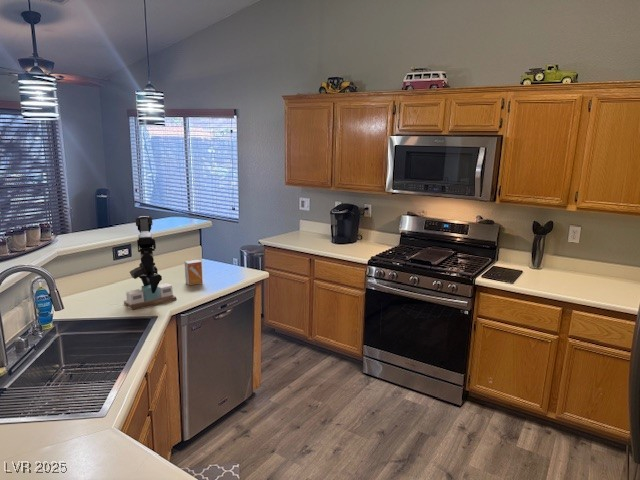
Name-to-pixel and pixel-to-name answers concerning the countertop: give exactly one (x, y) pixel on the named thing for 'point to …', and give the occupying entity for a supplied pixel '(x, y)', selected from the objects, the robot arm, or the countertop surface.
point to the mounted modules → (137, 295)
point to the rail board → (150, 303)
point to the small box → (193, 272)
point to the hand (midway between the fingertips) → (149, 291)
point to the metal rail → (148, 300)
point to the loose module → (149, 293)
